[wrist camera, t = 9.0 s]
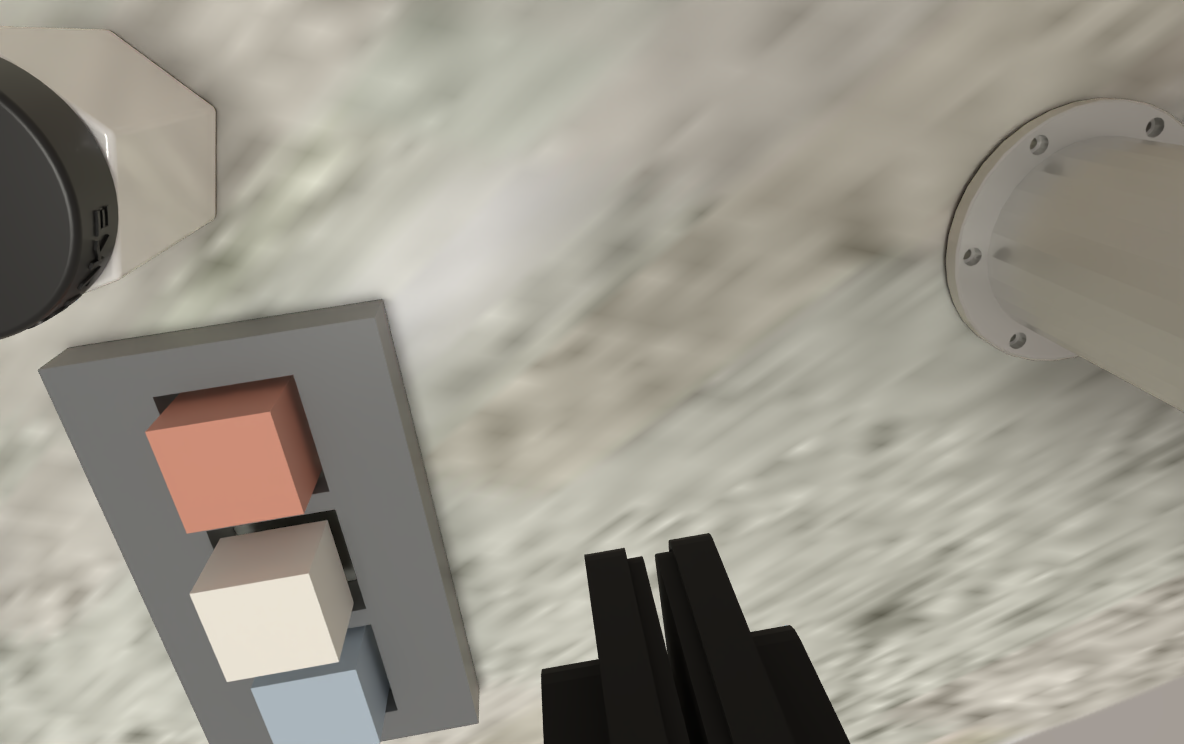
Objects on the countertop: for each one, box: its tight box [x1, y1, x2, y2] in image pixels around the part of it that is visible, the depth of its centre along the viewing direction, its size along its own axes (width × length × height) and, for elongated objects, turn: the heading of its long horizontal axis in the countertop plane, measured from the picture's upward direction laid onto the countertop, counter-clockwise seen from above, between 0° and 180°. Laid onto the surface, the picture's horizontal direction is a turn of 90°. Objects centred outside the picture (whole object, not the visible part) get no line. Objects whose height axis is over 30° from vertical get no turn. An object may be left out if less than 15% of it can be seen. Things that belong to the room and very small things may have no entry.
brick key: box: [145, 375, 322, 534], centre depth 34 cm, size 5×5×4 cm
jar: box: [0, 26, 216, 339], centre depth 26 cm, size 9×8×12 cm
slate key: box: [251, 624, 390, 744], centre depth 40 cm, size 5×5×4 cm
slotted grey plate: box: [38, 299, 479, 744], centre depth 38 cm, size 14×24×2 cm, turn 7°
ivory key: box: [190, 520, 354, 682], centre depth 35 cm, size 5×5×4 cm
